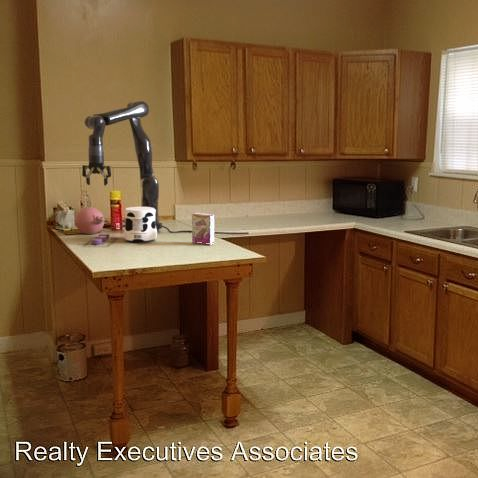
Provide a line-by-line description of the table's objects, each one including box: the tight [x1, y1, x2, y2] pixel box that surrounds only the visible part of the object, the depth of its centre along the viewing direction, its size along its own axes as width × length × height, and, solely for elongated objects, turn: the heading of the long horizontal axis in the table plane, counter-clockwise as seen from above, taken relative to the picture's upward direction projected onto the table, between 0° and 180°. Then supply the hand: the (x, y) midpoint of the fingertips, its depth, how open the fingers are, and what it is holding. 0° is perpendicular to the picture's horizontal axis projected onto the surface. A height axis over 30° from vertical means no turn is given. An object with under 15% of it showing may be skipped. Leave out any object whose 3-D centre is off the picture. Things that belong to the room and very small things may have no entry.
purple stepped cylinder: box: [90, 238, 102, 246], centre depth 315 cm, size 6×6×3 cm
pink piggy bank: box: [74, 206, 105, 235], centre depth 340 cm, size 15×20×15 cm
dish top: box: [98, 232, 111, 239], centre depth 329 cm, size 6×6×3 cm
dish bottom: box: [94, 235, 107, 243], centre depth 322 cm, size 6×6×3 cm
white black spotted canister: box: [123, 206, 158, 244], centre depth 326 cm, size 17×17×18 cm
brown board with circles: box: [90, 237, 112, 247], centre depth 322 cm, size 12×22×1 cm, turn 5°
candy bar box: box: [191, 212, 215, 246], centre depth 325 cm, size 11×5×16 cm, turn 71°
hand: (97, 185), depth 320 cm, fingers open, 8 cm apart
